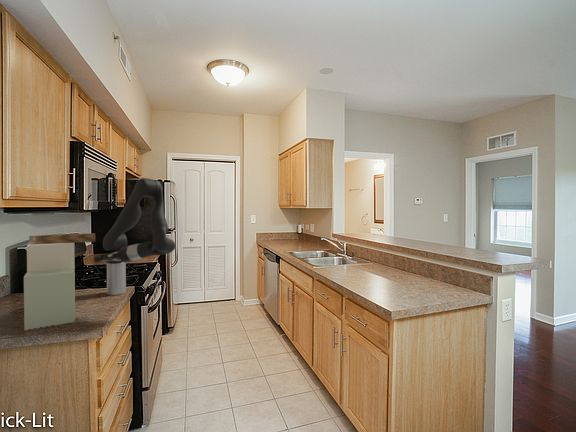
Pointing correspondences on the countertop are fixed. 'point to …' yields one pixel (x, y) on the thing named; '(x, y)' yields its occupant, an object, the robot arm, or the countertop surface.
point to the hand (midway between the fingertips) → (101, 260)
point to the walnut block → (61, 238)
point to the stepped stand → (49, 285)
